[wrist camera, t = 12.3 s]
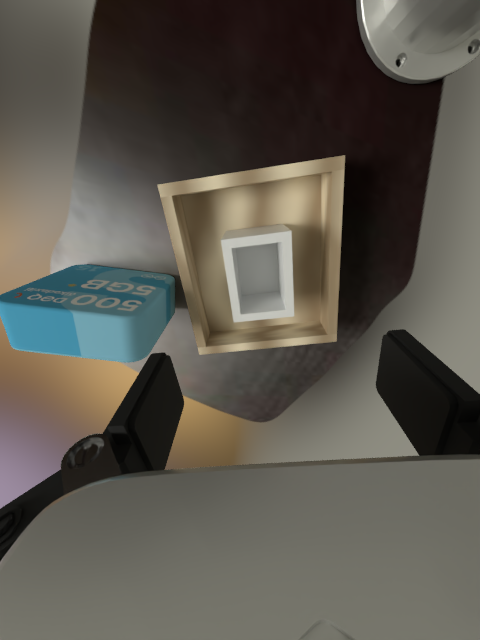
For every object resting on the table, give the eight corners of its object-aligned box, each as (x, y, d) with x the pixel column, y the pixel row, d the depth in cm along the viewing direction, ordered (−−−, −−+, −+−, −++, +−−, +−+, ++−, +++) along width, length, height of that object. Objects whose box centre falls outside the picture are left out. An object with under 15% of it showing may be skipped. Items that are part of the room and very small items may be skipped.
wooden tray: (329, 161, 24) (345, 155, 20) (325, 323, 32) (336, 341, 28) (171, 186, 26) (157, 184, 22) (205, 335, 34) (199, 354, 30)
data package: (178, 275, 30) (139, 319, 19) (177, 308, 32) (143, 365, 21) (77, 262, 30) (-18, 300, 19) (84, 297, 32) (0, 349, 21)
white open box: (282, 223, 26) (291, 230, 21) (285, 294, 30) (294, 316, 24) (226, 231, 27) (220, 239, 21) (236, 299, 30) (233, 322, 25)
